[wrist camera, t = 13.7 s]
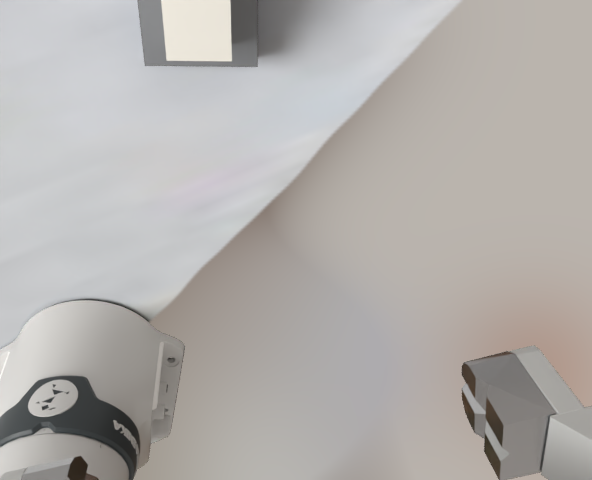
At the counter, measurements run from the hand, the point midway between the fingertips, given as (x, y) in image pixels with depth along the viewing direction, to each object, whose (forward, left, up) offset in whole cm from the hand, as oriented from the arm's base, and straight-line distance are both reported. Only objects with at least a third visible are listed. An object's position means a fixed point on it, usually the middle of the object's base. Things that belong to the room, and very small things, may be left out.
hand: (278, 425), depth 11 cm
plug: (+4, +2, -33) cm, 33 cm away
